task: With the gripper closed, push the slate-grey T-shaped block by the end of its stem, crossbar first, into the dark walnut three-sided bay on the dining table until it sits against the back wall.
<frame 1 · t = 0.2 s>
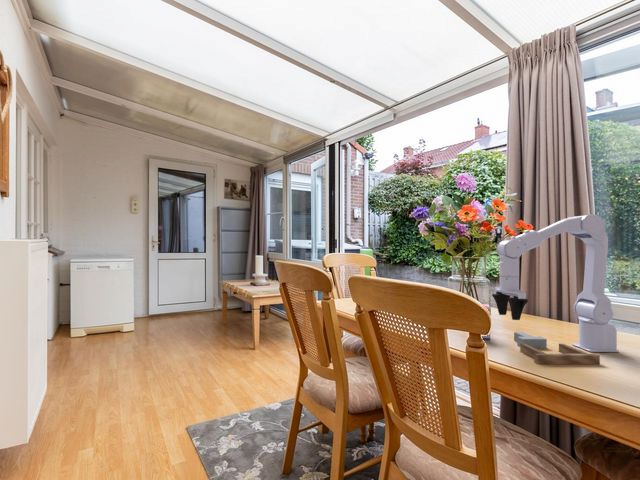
hand: (509, 317, 114), 10 cm above the table, fingers open, 7 cm apart
walnut bay: (552, 356, 104), on the table
supplement box: (480, 338, 125), on the table
t block: (526, 344, 117), on the table
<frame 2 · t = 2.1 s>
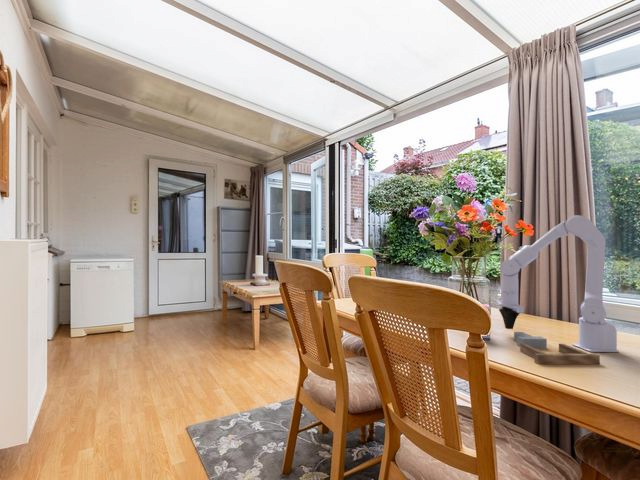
hand: (509, 328, 127), 3 cm above the table, fingers closed
nothing on the table moved.
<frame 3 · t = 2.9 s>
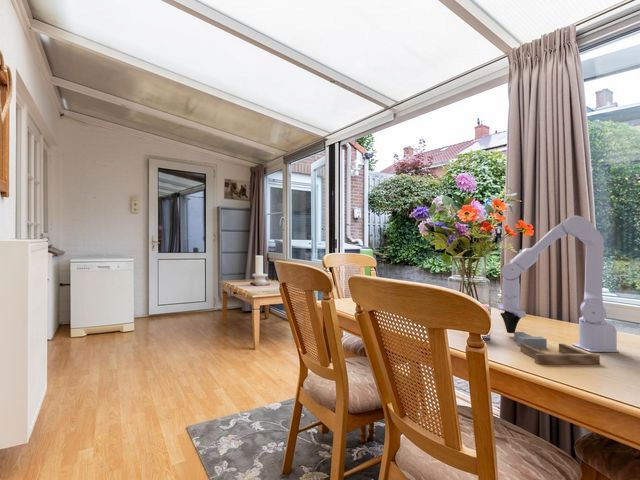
hand: (510, 332, 126), 1 cm above the table, fingers closed
nothing on the table moved.
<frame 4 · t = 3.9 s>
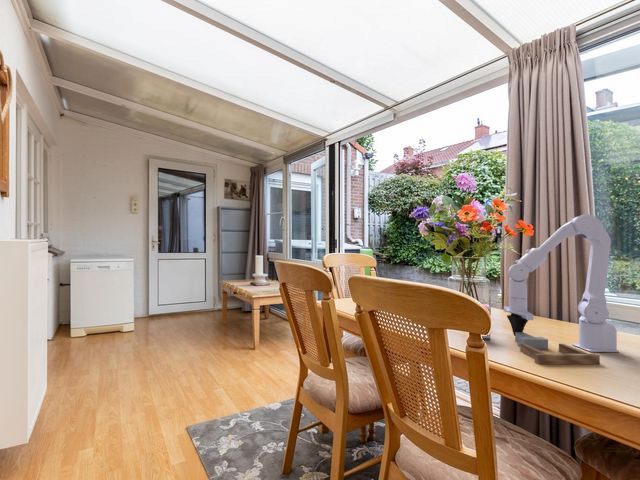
hand: (517, 336, 122), 1 cm above the table, fingers closed
t block: (527, 344, 116), on the table, touching gripper
everything else where it was.
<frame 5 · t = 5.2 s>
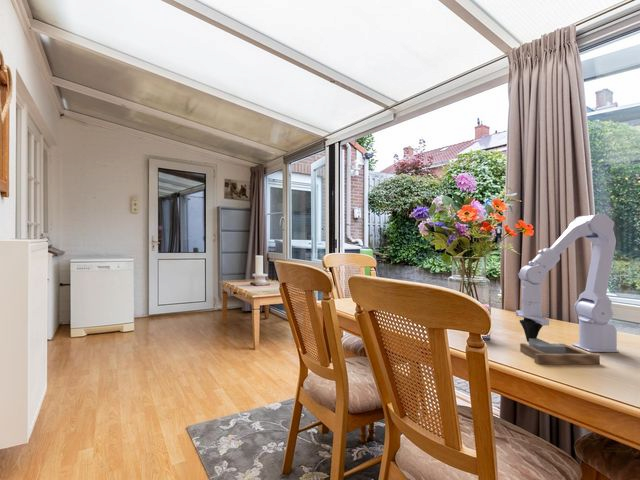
hand: (531, 342, 114), 1 cm above the table, fingers closed
t block: (542, 351, 109), on the table, touching gripper
everything else where it was.
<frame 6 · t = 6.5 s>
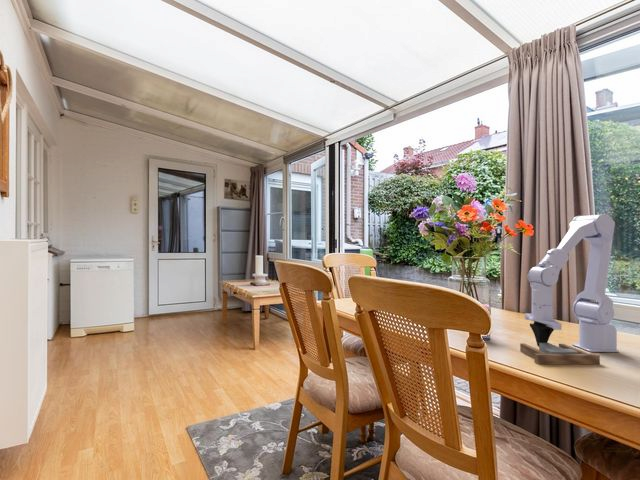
hand: (541, 346, 109), 1 cm above the table, fingers closed
t block: (553, 357, 104), on the table, touching gripper, walnut bay
everything else where it was.
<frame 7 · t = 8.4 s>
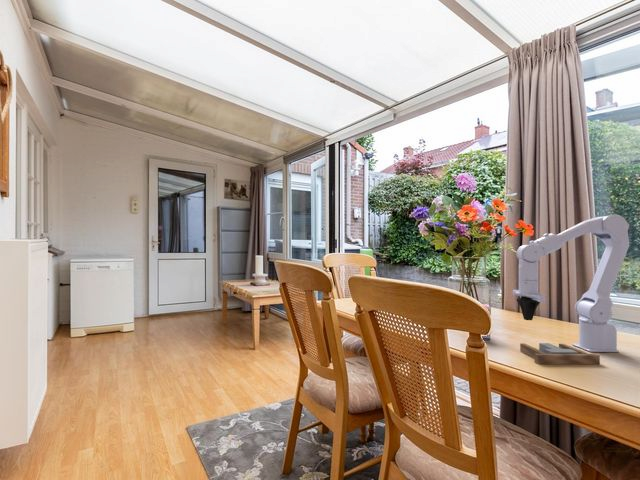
hand: (528, 319, 116), 8 cm above the table, fingers closed
t block: (553, 357, 104), on the table
everything else where it was.
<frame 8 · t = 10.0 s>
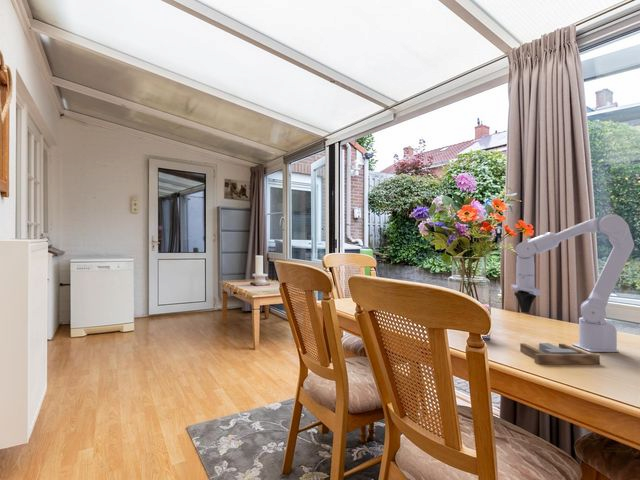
hand: (525, 312, 124), 9 cm above the table, fingers closed
nothing on the table moved.
at the end: t block 0.2 cm off-centre on the walnut bay, point 0.0 cm above the walnut bay's base; t block tilted 0°; t block moved 13.5 cm from its start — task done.
